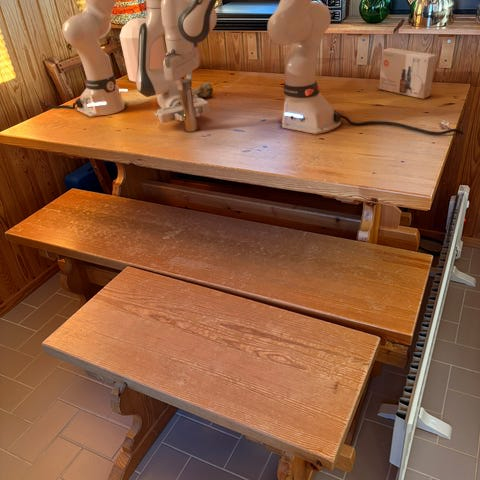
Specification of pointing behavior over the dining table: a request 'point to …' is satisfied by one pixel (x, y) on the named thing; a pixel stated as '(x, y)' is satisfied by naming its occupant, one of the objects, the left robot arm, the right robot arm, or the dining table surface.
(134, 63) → the container
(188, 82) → the lid
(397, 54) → the skincare box
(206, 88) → the rock
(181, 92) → the brown cylinder
